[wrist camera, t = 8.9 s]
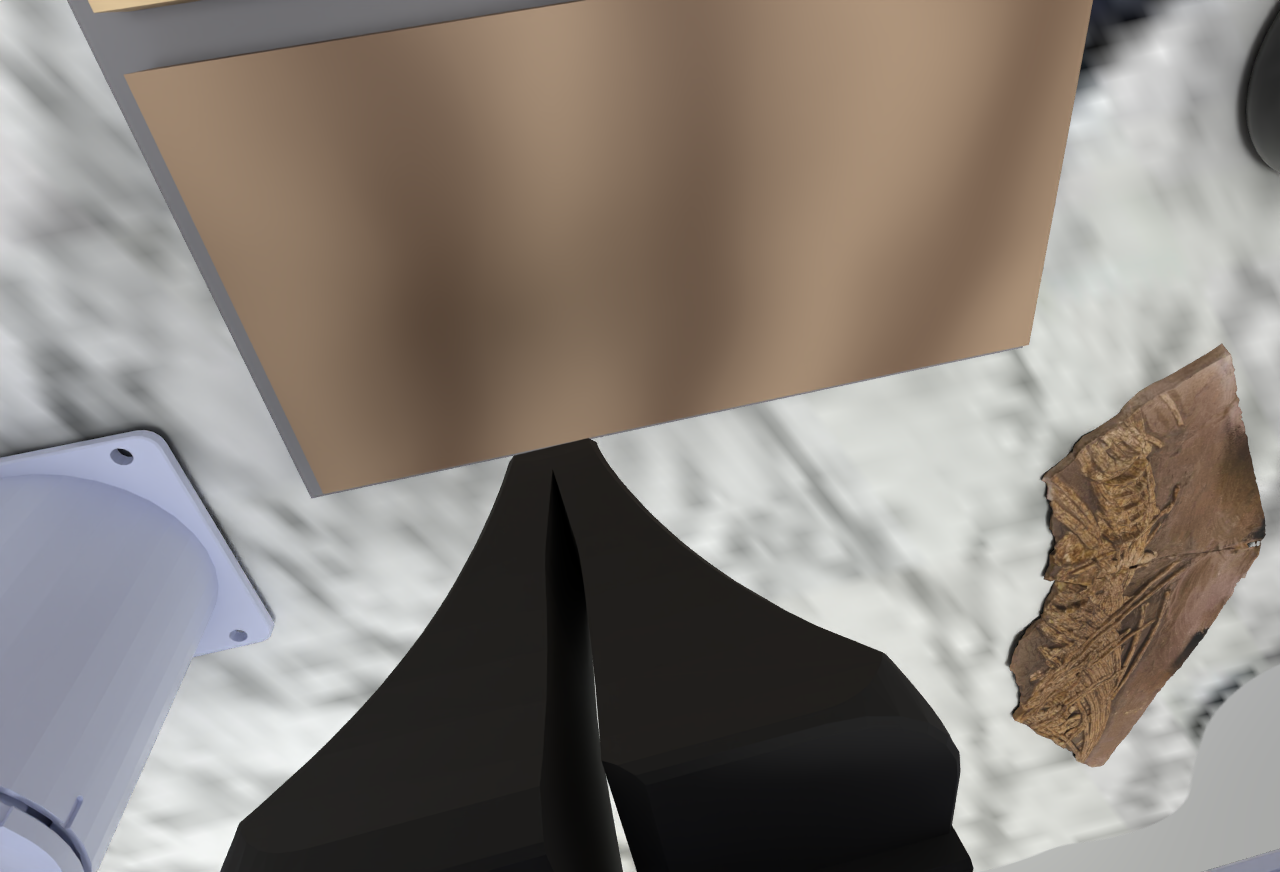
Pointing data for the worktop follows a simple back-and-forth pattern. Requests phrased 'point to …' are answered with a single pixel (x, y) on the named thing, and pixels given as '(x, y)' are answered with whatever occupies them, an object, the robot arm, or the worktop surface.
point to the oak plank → (130, 4)
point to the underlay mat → (243, 23)
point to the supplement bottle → (1266, 98)
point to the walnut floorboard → (619, 210)
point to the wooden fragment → (1139, 556)
